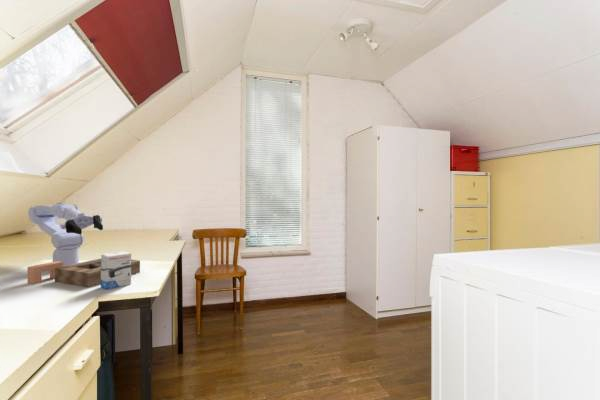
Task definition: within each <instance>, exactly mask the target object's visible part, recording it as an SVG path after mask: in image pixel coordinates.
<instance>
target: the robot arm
mask: <svg viewBox="0 0 600 400" xmlns="http://www.w3.org/2000/svg"><path fill="white" fill-rule="evenodd" d="M27 215H28V218H29V221H31V223H34V224H35V225H37V226H38V227H39V228H40V230H41V231H42V232H44V233H45V234H47V235H48V236H49V237H51V244H52V245H53V247H54V248H55V250H53V252H52V262H55V261H59V262H63V266H68V265H72V264H77V263H80V261H79V260H80V259H79V258H80V256H79V255H80V254H79V251H80V249H79V248H81V246H82V245H83V243H84V242H85V241H84V239H85V238H84V235H83V233H82V230H83V229H87V228H88V227H90V226H93V229H98V230H99V231H103V230H104V226H103V224H102V223H103V218H102V217H101V216H100V215H99V214H96V215H93V216H92V215H87V214H85V212H81V211H80V210H78V206H77V205H76V204H67V202H66V203H65V202H64V203H63V202H56V203H54V204H43V205H34V206H30V207H29V208H28V214H27ZM59 219H64V220H65V221H63V222H60V225H59V224H57V223H58V222H59V221H58V220H59Z"/></svg>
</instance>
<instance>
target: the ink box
mask: <svg viewBox="0 0 600 400" xmlns="http://www.w3.org/2000/svg"><path fill="white" fill-rule="evenodd" d="M100 259H101V284H100V287H101V288H103V289H104V290H110V289H114V288H119V287H125V286H129V285H131V284H132V275H131V260H132V253H130V252H128V251H127V250H126V251H117V252H108V253H102V254H101V258H100Z"/></svg>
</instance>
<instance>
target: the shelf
mask: <svg viewBox="0 0 600 400" xmlns="http://www.w3.org/2000/svg"><path fill="white" fill-rule="evenodd" d="M138 272H139V273H141V261H140V260H138V259H131V276H132V275H135V274H139V273H138ZM54 282H56V283H62V284H68V285H74V286H79V287H86V288H91V287H94V286H95V287H96V286H99V285H101V258H97V259H94V260H93V259H91V260H88V261H83V262H79V263H77V264H72V265H68V266H63V267H58V268H55V279H54Z"/></svg>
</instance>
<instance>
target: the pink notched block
mask: <svg viewBox="0 0 600 400" xmlns="http://www.w3.org/2000/svg"><path fill="white" fill-rule="evenodd" d="M58 267H63V262H59V261H55V262H53V261H51V262H46V263H40V264H35V265H30V266H27V270H26V271H27V284H31V285H37V284H40V283H42V277H43V276H42V272H46V271H49V278H50V279H54V280H55V268H58Z"/></svg>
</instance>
